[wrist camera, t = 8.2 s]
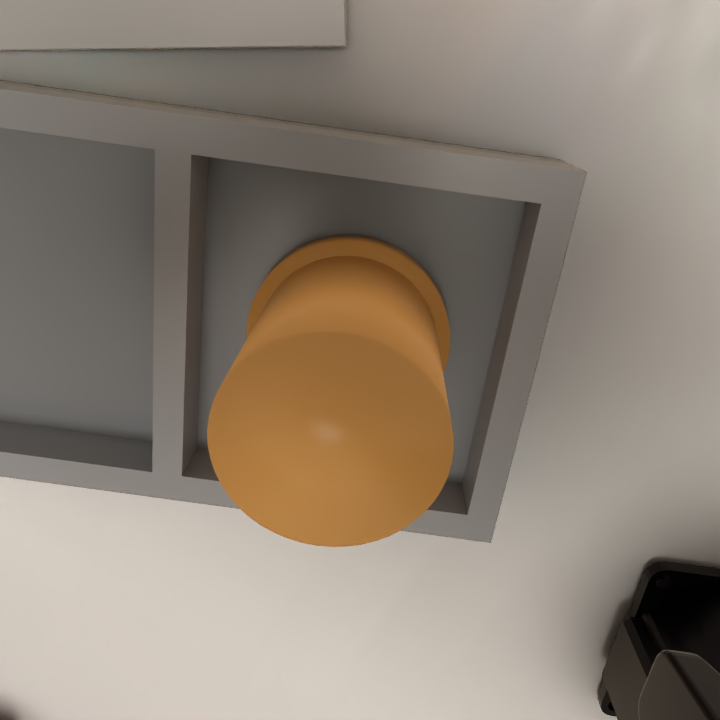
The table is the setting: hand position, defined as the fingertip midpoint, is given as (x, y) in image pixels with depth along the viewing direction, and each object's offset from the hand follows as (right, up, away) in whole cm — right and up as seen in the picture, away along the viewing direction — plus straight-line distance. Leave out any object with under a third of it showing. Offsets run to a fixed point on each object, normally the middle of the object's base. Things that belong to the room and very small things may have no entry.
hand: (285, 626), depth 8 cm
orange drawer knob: (+1, +4, +10) cm, 10 cm away
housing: (-4, +5, +11) cm, 12 cm away
